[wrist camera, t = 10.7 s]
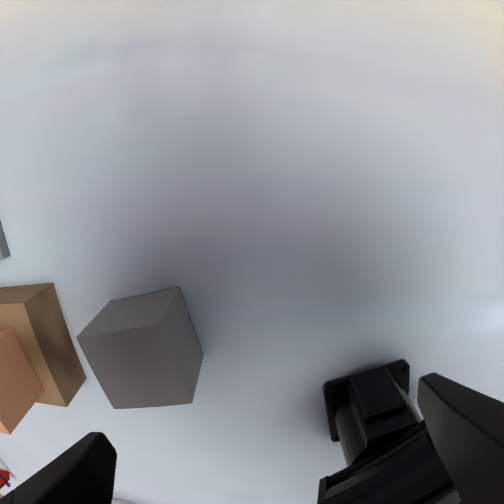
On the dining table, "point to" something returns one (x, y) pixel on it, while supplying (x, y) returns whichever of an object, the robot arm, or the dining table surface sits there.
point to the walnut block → (43, 339)
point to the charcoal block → (144, 350)
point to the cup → (120, 502)
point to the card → (3, 245)
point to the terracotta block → (15, 382)
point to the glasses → (4, 478)
